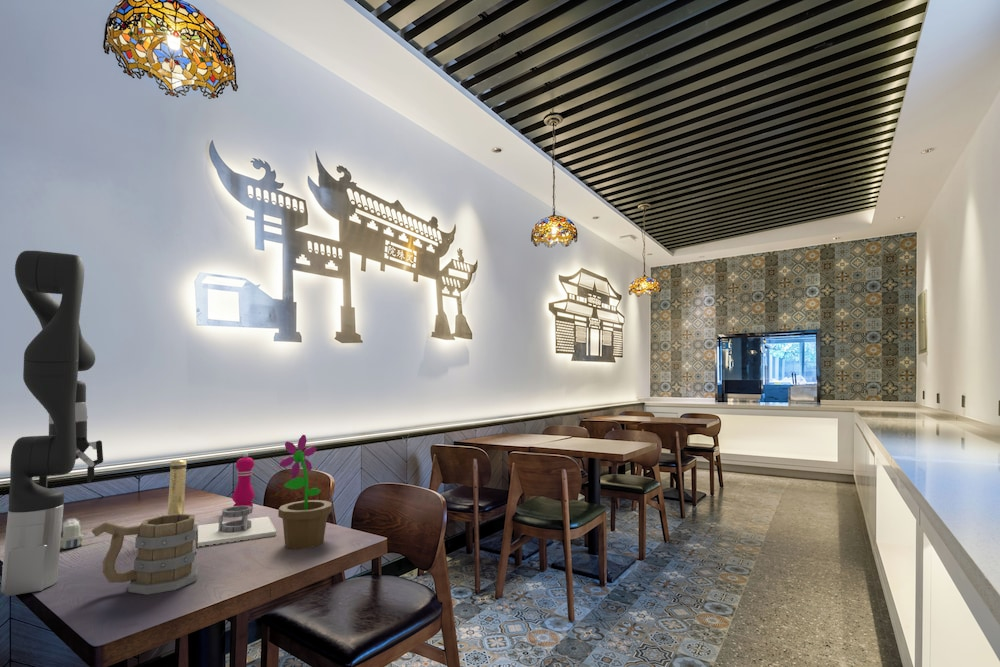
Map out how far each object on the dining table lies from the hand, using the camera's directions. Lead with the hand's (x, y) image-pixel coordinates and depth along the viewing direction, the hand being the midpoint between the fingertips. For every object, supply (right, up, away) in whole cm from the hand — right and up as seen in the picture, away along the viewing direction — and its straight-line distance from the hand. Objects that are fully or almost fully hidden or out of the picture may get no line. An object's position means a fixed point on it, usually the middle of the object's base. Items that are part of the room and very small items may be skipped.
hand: (67, 484), depth 127 cm
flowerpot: (+56, -21, +13) cm, 61 cm away
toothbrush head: (-15, -22, +18) cm, 33 cm away
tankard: (+32, -18, -16) cm, 40 cm away
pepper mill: (+17, -25, +53) cm, 61 cm away
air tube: (+14, -22, +21) cm, 33 cm away
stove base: (+31, -22, +24) cm, 44 cm away
